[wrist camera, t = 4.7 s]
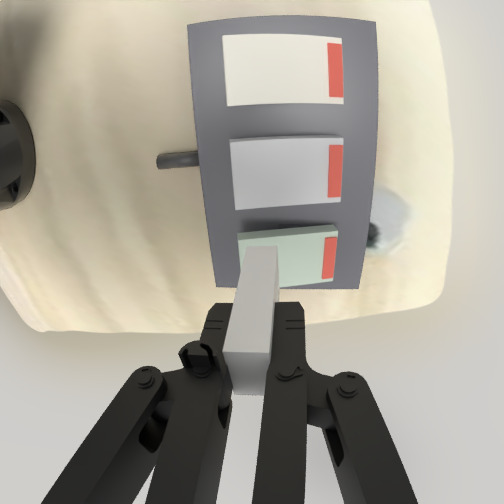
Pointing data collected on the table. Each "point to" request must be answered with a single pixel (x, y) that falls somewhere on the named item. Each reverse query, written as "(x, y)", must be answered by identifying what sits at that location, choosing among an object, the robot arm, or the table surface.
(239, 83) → the cream rocker
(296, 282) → the sage rocker
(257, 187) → the grey rocker
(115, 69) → the table surface
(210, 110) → the rocker switch panel
